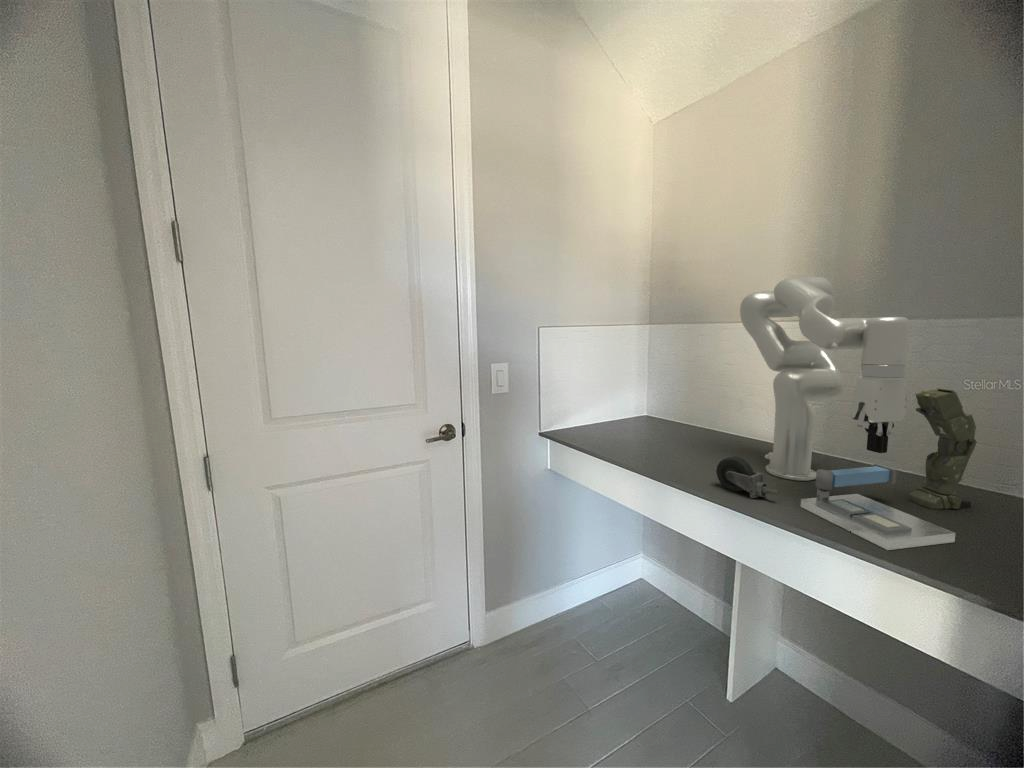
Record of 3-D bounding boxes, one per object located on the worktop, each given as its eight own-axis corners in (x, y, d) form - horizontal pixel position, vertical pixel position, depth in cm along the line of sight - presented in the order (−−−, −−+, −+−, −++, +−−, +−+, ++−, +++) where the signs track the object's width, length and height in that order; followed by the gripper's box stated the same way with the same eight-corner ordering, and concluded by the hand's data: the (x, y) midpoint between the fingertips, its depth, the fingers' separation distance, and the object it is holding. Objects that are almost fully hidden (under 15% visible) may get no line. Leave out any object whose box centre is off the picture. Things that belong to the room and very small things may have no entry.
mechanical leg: (958, 493, 102) (945, 380, 98) (992, 505, 95) (979, 384, 91) (906, 507, 102) (890, 395, 98) (936, 520, 95) (921, 400, 91)
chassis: (799, 506, 99) (801, 488, 98) (855, 500, 101) (857, 483, 100) (887, 550, 79) (890, 528, 78) (954, 542, 81) (957, 520, 81)
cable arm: (826, 491, 95) (827, 475, 95) (809, 484, 100) (811, 469, 99) (895, 484, 98) (897, 468, 98) (876, 477, 103) (878, 462, 102)
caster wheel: (713, 490, 112) (772, 504, 99) (712, 456, 111) (770, 466, 99) (725, 486, 115) (782, 498, 102) (723, 452, 114) (781, 461, 102)
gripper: (890, 370, 95) (885, 445, 97) (838, 372, 93) (833, 449, 95) (928, 372, 88) (921, 453, 90) (873, 374, 85) (867, 458, 87)
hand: (876, 451), depth 92 cm, fingers closed
